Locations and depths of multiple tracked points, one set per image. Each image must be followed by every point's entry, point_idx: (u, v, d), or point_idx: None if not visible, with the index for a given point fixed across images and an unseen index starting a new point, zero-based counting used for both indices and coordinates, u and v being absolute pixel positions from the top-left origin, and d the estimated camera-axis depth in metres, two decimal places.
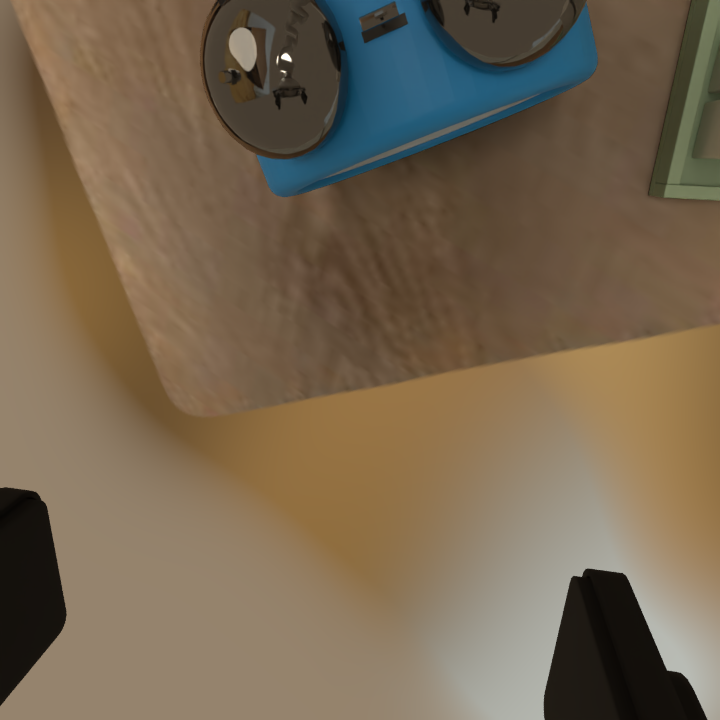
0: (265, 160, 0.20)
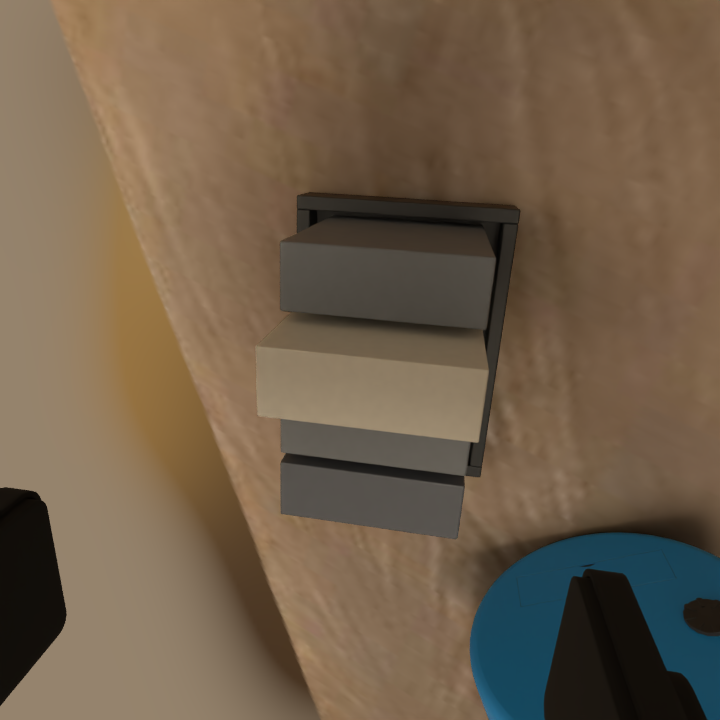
0: None
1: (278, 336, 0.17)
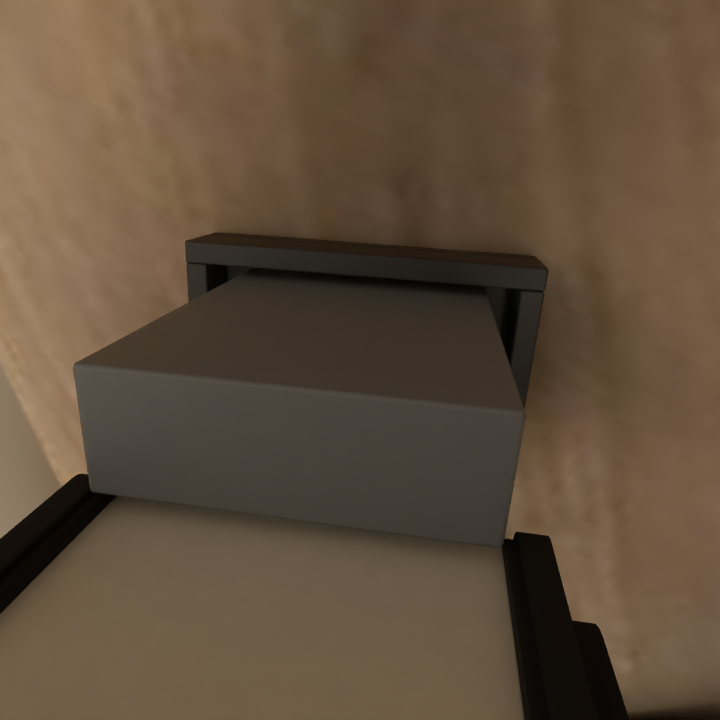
0: None
1: None
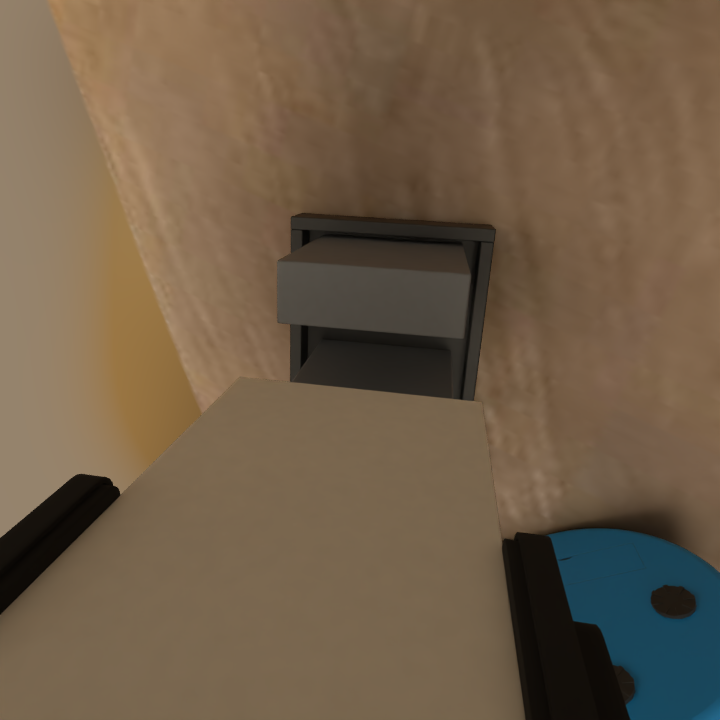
0: None
1: None
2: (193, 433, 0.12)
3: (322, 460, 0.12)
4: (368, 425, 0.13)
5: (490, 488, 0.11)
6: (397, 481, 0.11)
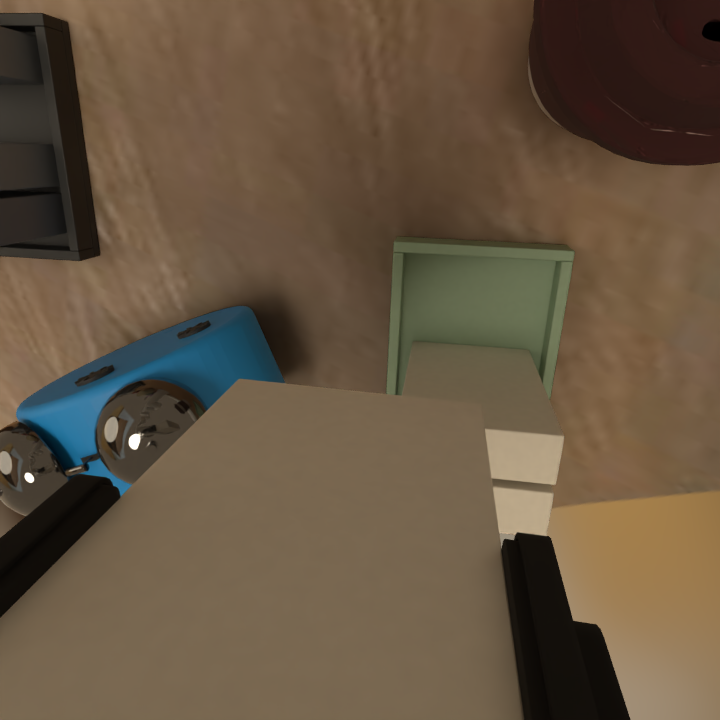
0: None
1: None
2: (192, 435, 0.12)
3: (321, 462, 0.12)
4: (367, 427, 0.13)
5: (489, 491, 0.11)
6: (396, 483, 0.11)
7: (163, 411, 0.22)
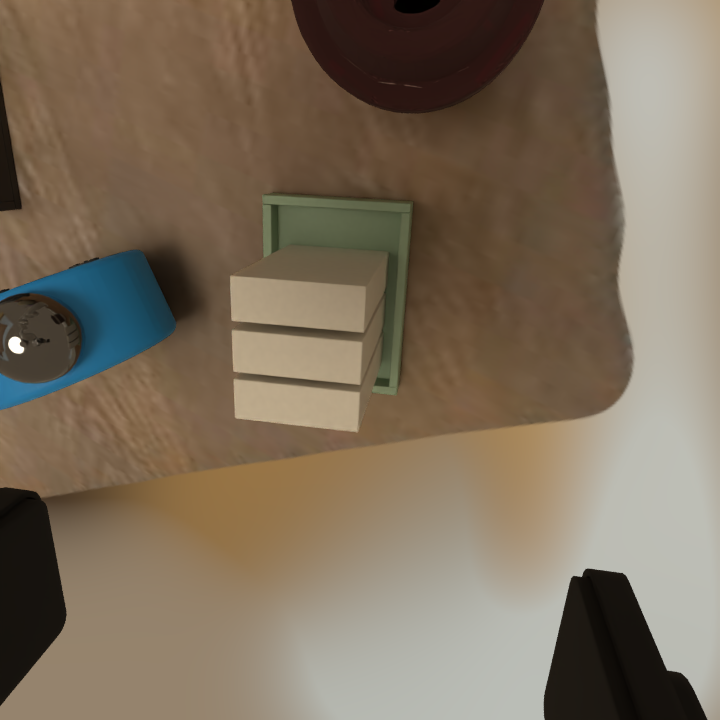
0: None
1: (244, 271, 0.28)
2: (277, 252, 0.34)
3: (324, 257, 0.33)
4: (341, 253, 0.35)
5: (380, 262, 0.33)
6: (349, 261, 0.33)
7: (34, 315, 0.27)
